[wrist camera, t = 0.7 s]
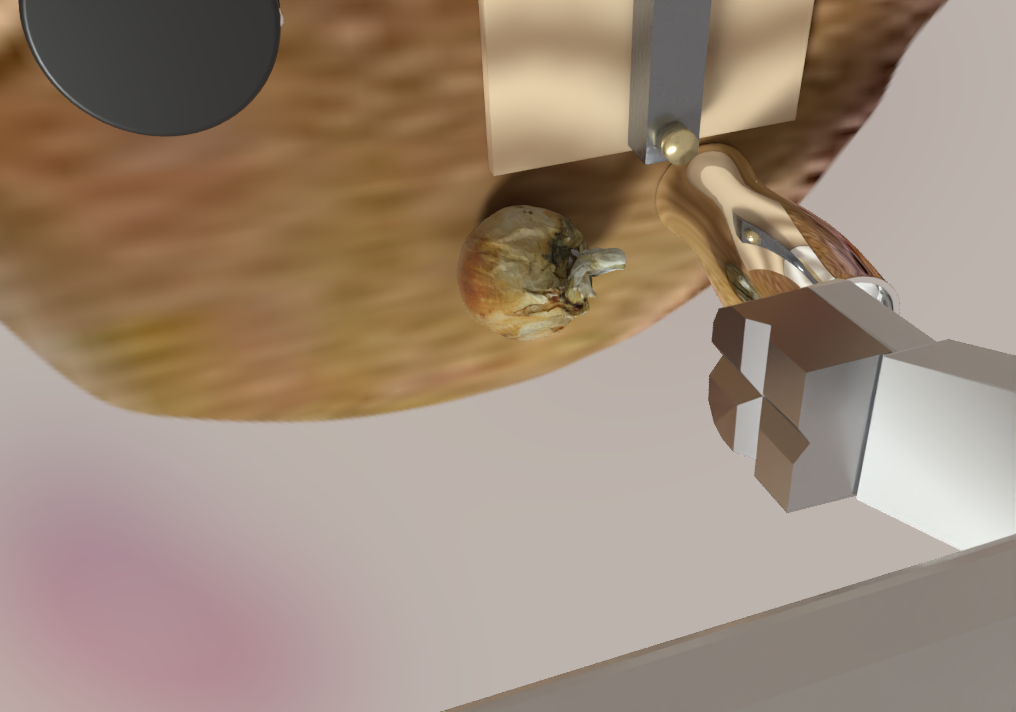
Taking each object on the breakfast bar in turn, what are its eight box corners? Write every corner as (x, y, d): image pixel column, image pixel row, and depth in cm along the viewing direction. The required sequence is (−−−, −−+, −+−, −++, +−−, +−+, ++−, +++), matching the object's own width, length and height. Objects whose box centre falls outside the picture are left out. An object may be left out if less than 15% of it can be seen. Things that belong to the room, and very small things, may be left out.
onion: (467, 170, 52) (510, 245, 46) (594, 196, 55) (649, 269, 49) (426, 286, 56) (461, 370, 50) (547, 304, 59) (593, 384, 53)
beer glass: (728, 244, 60) (863, 393, 49) (631, 235, 58) (751, 390, 46) (772, 142, 57) (929, 278, 45) (672, 127, 54) (812, 268, 43)
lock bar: (636, -106, 44) (670, -85, 41) (696, -113, 45) (733, -94, 42) (626, 144, 52) (654, 175, 49) (677, 134, 53) (707, 164, 50)
